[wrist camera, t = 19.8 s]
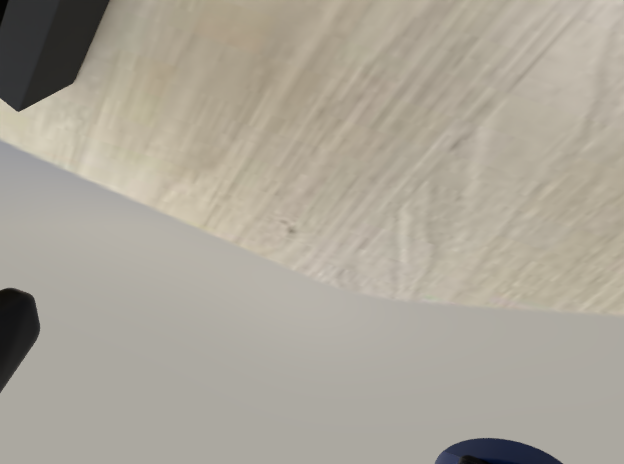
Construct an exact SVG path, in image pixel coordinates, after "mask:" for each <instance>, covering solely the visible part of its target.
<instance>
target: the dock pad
mask: <svg viewBox="0 0 624 464" xmlns="http://www.w3.org/2000/svg"><path fill="white" fill-rule="evenodd" d="M108 2H109V0H0V98H1V99H2V100H3V101H5V102H6V103H7V104H8V105H10V106H11V107H12V108H13V109H15V110H16V111H18V112H20V111H21V110H23V109H25V108H27V107H29V106H31V105H33V104H35V103H37V102H38V101H40V100H42V99H44V98H46V97H48V96H50V95H52V94H54V93H56V92H57V91H59V90H61V89H63V88H65V87H67V86H69V85H71V84H72V83H73V82H74V80H75V78H76V75H77V73H78V71H79V68H80V66H81V64H82V61H83V59H84V57H85V55H86V52H87V50H88V48H89V45H90V43H91V41H92V38H93V36H94V34H95V32H96V29H97V27H98V25H99V22H100V20H101V18H102V15H103V13H104V11H105V8H106V6H107V4H108Z"/></svg>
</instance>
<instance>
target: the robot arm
mask: <svg viewBox="0 0 624 464" xmlns="http://www.w3.org/2000/svg"><path fill="white" fill-rule="evenodd" d="M39 332H40V323H39V318H38V313H37V308H36V303H35V300H34V297H33V296H32V295H31V294H29V293H26V292H23V291H20V290H18V289H15V288H6V289H3V290H0V393H1V391H2V390H3V388H4V387H5V385H6V384H7V382H8V381H9V379H10V378H11V377H12V375H13V374H14V372H15V371H16V369H17V368H18V366H19V365H20V363H21V362H22V361H23V359H24V358H25V356H26V355H27V353H28V352H29V350H30V349H31V347H32V346H33V344H34V343H35V341H36V340H37V337H38V335H39ZM457 464H492V463H490V462H487V461H484V460H481V459H479V458H476V457H473V456H470V455H464V456H461V458H460V459H459V461H458V463H457Z"/></svg>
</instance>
